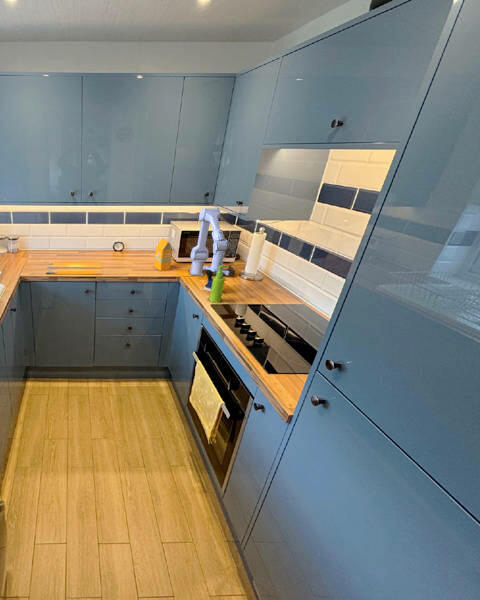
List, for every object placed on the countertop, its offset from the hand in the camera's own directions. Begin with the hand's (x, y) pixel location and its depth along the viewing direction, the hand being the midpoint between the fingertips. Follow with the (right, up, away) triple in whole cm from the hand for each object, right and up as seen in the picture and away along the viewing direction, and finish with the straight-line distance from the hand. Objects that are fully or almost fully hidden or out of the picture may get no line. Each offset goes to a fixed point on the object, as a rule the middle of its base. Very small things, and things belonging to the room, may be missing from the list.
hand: (213, 283), depth 189 cm
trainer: (-1, -2, 0) cm, 2 cm away
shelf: (+15, +8, +26) cm, 31 cm away
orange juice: (-21, +12, +36) cm, 44 cm away
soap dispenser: (-3, -10, -10) cm, 15 cm away
